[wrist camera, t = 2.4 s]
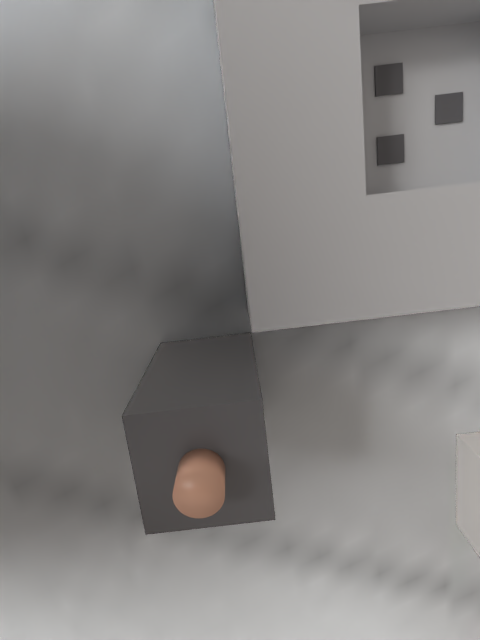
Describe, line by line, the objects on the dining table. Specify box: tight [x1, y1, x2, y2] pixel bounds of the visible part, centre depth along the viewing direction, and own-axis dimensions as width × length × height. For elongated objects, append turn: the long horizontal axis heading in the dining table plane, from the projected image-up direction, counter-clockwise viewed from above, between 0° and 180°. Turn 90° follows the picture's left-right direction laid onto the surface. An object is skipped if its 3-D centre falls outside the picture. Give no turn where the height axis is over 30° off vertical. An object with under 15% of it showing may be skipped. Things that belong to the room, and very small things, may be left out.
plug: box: [122, 333, 275, 534], centre depth 15 cm, size 4×4×8 cm
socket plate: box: [213, 0, 480, 333], centre depth 15 cm, size 14×14×4 cm
